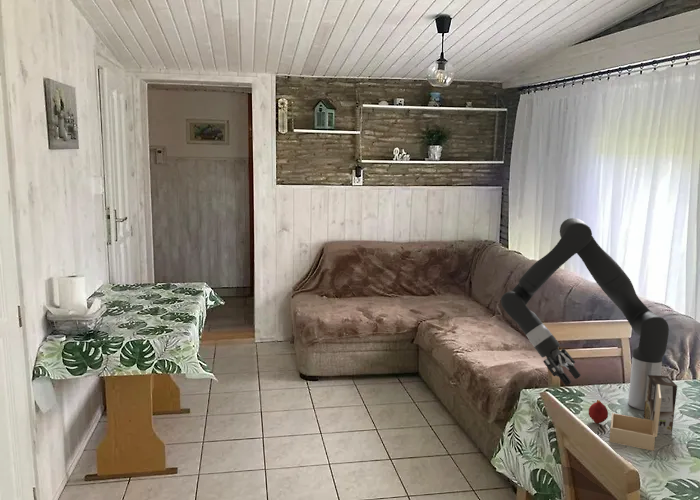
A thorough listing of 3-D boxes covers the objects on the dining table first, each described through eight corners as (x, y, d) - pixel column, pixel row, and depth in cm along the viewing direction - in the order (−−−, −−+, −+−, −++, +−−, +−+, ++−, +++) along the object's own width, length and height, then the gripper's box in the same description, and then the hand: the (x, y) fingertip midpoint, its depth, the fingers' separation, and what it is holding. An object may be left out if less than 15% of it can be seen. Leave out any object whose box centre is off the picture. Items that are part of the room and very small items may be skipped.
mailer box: (610, 426, 187) (615, 377, 184) (654, 434, 181) (659, 384, 179) (609, 441, 176) (614, 390, 173) (655, 451, 170) (661, 398, 168)
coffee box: (672, 435, 181) (678, 386, 179) (650, 432, 182) (655, 384, 180) (663, 422, 190) (668, 375, 187) (642, 420, 191) (646, 373, 189)
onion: (606, 421, 190) (608, 398, 189) (607, 428, 185) (610, 405, 183) (587, 418, 192) (589, 395, 191) (588, 425, 186) (590, 402, 185)
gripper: (542, 338, 191) (574, 381, 185) (559, 330, 202) (590, 369, 196) (526, 350, 195) (557, 392, 189) (543, 341, 206) (573, 380, 200)
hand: (573, 380), depth 193 cm, fingers open, 8 cm apart
